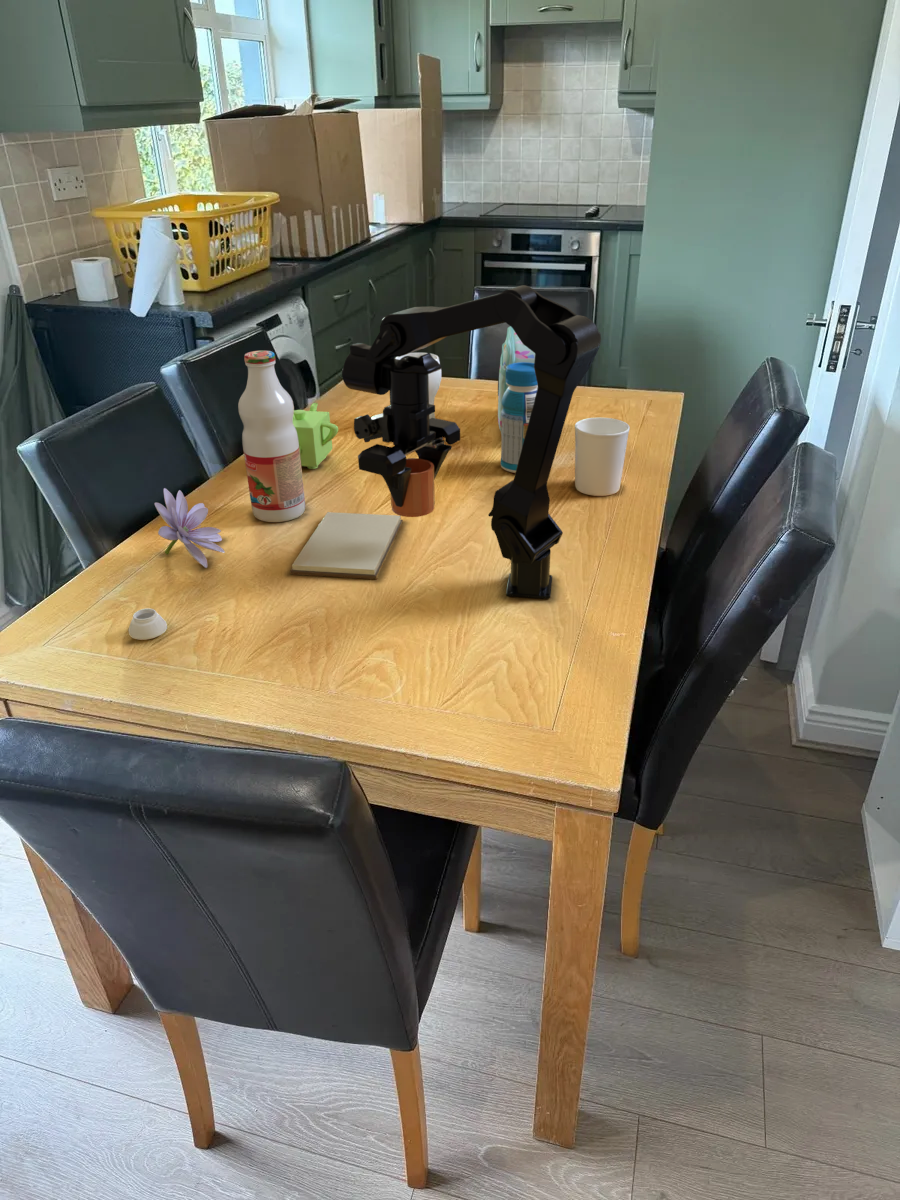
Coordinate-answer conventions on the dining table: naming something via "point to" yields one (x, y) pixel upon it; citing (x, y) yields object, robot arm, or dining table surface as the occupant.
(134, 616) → the lidless jar
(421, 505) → the pot
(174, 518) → the water lily
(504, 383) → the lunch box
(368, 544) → the tile
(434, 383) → the cup
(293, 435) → the fruit juice
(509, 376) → the beverage bottle
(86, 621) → the dining table surface
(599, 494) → the white tumbler
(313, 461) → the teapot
